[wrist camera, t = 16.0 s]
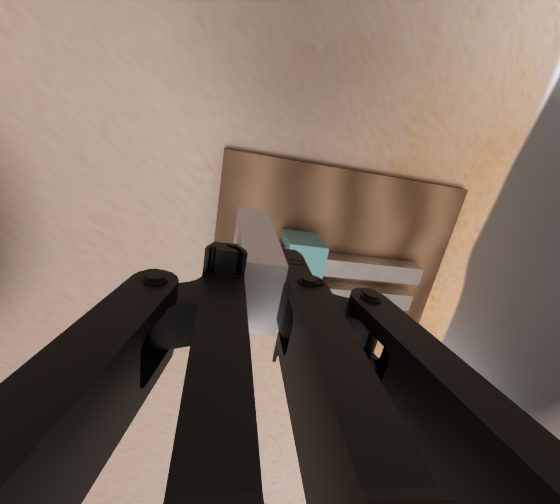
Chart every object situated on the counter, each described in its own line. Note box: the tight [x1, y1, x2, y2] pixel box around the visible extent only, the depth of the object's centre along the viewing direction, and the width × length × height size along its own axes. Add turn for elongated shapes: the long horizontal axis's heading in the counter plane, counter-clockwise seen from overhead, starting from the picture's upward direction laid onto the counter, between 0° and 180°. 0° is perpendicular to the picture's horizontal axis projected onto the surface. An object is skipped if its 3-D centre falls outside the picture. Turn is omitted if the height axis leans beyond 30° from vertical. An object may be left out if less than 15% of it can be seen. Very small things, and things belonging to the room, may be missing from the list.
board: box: [214, 148, 468, 323], centre depth 38 cm, size 28×19×1 cm
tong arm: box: [282, 247, 424, 285], centre depth 37 cm, size 19×3×3 cm, turn 81°
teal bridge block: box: [276, 229, 329, 330], centre depth 35 cm, size 4×10×5 cm, turn 170°
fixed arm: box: [323, 279, 413, 311], centre depth 38 cm, size 23×2×2 cm, turn 80°
